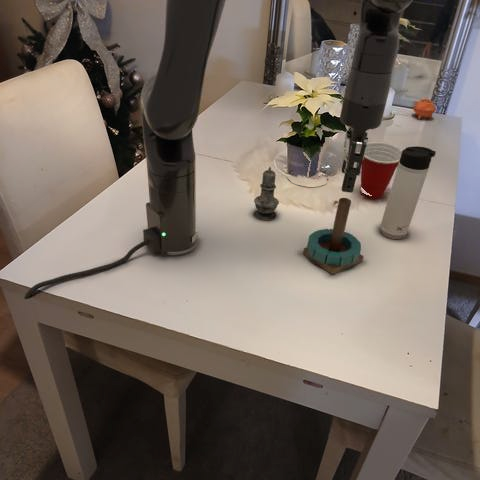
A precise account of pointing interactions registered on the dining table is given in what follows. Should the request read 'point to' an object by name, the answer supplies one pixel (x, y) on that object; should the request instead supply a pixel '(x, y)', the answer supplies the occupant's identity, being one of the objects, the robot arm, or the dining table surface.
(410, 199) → the travel mug
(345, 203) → the post
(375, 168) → the plastic cup
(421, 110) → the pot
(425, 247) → the dining table surface
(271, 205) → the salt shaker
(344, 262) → the ring
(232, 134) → the dining table surface
